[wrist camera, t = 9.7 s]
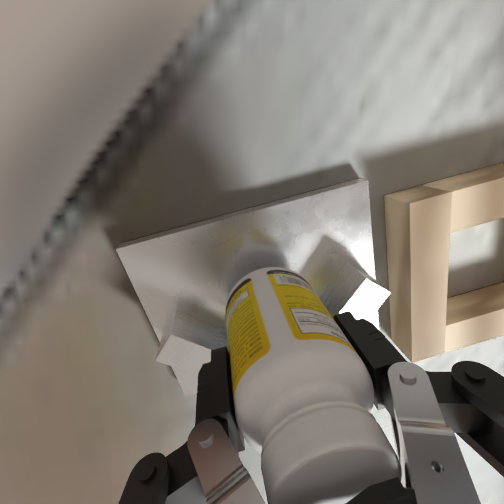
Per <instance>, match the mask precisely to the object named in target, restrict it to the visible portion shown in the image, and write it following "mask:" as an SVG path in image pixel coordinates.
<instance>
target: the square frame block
mask: <svg viewBox="0 0 504 504" xmlns="http://www.w3.org/2000/svg"><path fill="white" fill-rule="evenodd" d="M384 205H385V224H386V244H387V263H388V283H389V291H390V292H391V293H390V295H389V303H390V322H391V340H392V341H393V342H394V343H395V344H396V346H397V347H398V348H399V349H400V350H401V351H402V352H403V353H404V354H405V356H406V357H407V358H408V359H409V360H410V361H411V362H412V363H413V362H416V361H419V360H423V359H426V358H429V357H433V356H436V355H439V354H443V353H446V352H449V351H453V350H456V349H460V348H463V347H466V346H470V345H473V344H476V343H480V342H483V341H486V340H490V339H493V338H496V337H500V336H503V335H504V282H502V283H498V284H495V285H491V286H488V287H485V288H481V289H478V290H474V291H471V292H467V293H464V294H461V295H457V296H454V297H450V298H447V288H448V267H449V245H450V233H451V232H455V231H459V230H462V229H466V228H469V227H473V226H476V225H480V224H483V223H487V222H490V221H494V220H497V219H501V218H504V163H500V164H496V165H493V166H489V167H485V168H482V169H478V170H474V171H471V172H467V173H464V174H460V175H456V176H453V177H449V178H445V179H442V180H438V181H435V182H431V183H427V184H424V185H420V186H416V187H413V188H409V189H406V190H402V191H398V192H395V193H391V194H387V195H384Z"/></svg>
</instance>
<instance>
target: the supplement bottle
mask: <svg viewBox="0 0 504 504" xmlns="http://www.w3.org/2000/svg"><path fill="white" fill-rule="evenodd" d="M225 317H226V327H227V336H228V346H229V357H230V369H231V380H232V391H233V403H234V410H235V417H236V421H237V425H238V427H239V430H240V432H241V433H242V435H243V437H244V438H245V439H246V441H247V442H248V443H249V444H250V445H251V446H252V447H253V448H254V449H255V450H257V451H258V452H259V453H261V470H262V475H263V479H264V485H265V490H266V495H267V501H268V504H345V503H347V502H348V501H350V500H351V499H352V498H354V497H355V496H356V495H358V494H359V493H360V492H362V491H363V490H364V489H366V488H367V487H368V486H370V485H373V484H377V483H380V482H383V481H386V480H389V479H393V478H396V477H398V478H399V480H400V482H401V478H402V468H401V464H400V461H399V459H398V457H397V455H396V453H395V451H394V450H393V448H392V446H391V444H390V443H389V441H388V439H387V437H386V436H385V434H384V432H383V430H382V428H381V427H380V425H379V424H378V423H377V422H376V420H375V418H374V416H373V415H372V414H371V412H372V408H373V403H374V387H373V382H372V379H371V376H370V374H369V372H368V370H367V368H366V366H365V364H364V363H363V361H362V360H361V358H360V357H359V355H358V354H357V352H356V351H355V349H354V348H353V347H352V345H351V344H350V342H349V341H348V340H347V338H346V336H345V335H344V334H343V332H342V331H341V329H340V328H339V326H338V325H337V323H336V322H335V320H334V319H333V317H332V316H331V315H330V313H329V312H328V310H327V309H326V307H325V306H324V305H323V303H322V302H321V300H320V299H319V297H318V296H317V294H316V293H315V291H314V290H313V289H312V287H311V286H310V284H309V283H308V282H307V281H306V280H305V279H304V278H303V277H302V276H301V275H299V274H298V273H296V272H294V271H292V270H289V269H286V268H281V267H267V268H262V269H259V270H256V271H253V272H251V273H249V274H248V275H246V276H244V277H243V278H242V279H241V280H240V281H239V282H238V283H237V284H236V285H235V286H234V287H233V289H232V290H231V292H230V294H229V296H228V299H227V302H226V308H225Z"/></svg>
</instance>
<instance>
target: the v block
mask: <svg viewBox="0 0 504 504" xmlns="http://www.w3.org/2000/svg"><path fill="white" fill-rule="evenodd" d="M116 251H117V253H118V255H119V257H120V259H121V262H122V264H123V266H124V268H125V270H126V272H127V274H128V276H129V278H130V281H131V283H132V285H133V287H134V289H135V291H136V293H137V295H138V297H139V300H140V302H141V304H142V306H143V308H144V310H145V312H146V314H147V316H148V319H149V321H150V323H151V325H152V327H153V329H154V331H155V333H156V335H157V338H158V340H159V342H160V345H159V349H158V353H157V357H156V360H155V361H158V362H161V363H164V364H167V365H169V366H171V367H172V369H173V371H174V373H175V375H176V378H177V380H178V382H179V384H180V386H181V388H182V390H183V392H184V394H185V396H187V395H191V394H194V393H197V385H198V373H199V371H200V369H201V367H202V365H203V364H205V363H208V362H211V350H213V349H217V348H220V347H224V346H226V347H227V349H228V352H229V346H228V336H227V327H226V317H225V308H226V302H227V299H228V296H229V294H230V292H231V290H232V289H233V287H234V286H235V285H236V284H237V283H238V282H239V281H240V280H241V279H242V278H243V277H244V276H246V275H248V274H249V273H251V272H253V271H256V270H259V269H262V268H267V267H281V268H286V269H289V270H292V271H294V272H296V273H298V274H299V275H301V276H302V277H303V278H304V279H305V280H306V281H307V282H308V283H309V284H310V286H311V287H312V289H313V290H314V291H315V293H316V294H317V296H318V297H319V299H320V300H321V302H322V303H323V305H324V306H325V307H326V309H327V310H328V312H329V313H330V315H331V316H332V317H333V319H334V315H336V314H339V313H343V312H346V311H350V312H351V313H352V314H353V316H354V317H355V318H356V319H357V320H358V319H361V318H364V319H366V320H368V321H370V322H372V323H373V324H374V325H375V326H376V327H377V328H378V329H379V323H378V308H379V307H380V306H381V304H382V303H383V302H384V301H385V300H386V298H387V297H388V296H389V295H390V293H391V292H390V291H388V290H387V289H386V288H385V287H384V286H382V285H381V284H380V283H379V282H378V281H377V280H375V268H374V254H373V240H372V226H371V212H370V198H369V185H368V180H365V179H361V178H358V179H355V180H351V181H347V182H344V183H340V184H336V185H333V186H329V187H325V188H322V189H318V190H314V191H311V192H307V193H303V194H300V195H296V196H292V197H289V198H285V199H281V200H278V201H274V202H270V203H267V204H263V205H259V206H256V207H252V208H248V209H245V210H241V211H237V212H233V213H230V214H226V215H222V216H219V217H215V218H211V219H208V220H204V221H200V222H197V223H193V224H189V225H186V226H182V227H178V228H175V229H171V230H167V231H164V232H160V233H156V234H153V235H149V236H145V237H142V238H138V239H134V240H131V241H127V242H123V243H121V244H120V245H119V246H118V247H117V248H116Z"/></svg>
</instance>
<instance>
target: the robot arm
mask: <svg viewBox="0 0 504 504" xmlns="http://www.w3.org/2000/svg"><path fill="white" fill-rule="evenodd" d="M334 320H335V322H336V323H337V325H338V326H339V328H340V329H341V331H342V332H343V334H344V335H345V336H346V338H347V340H348V341H349V342H350V344H351V345H352V347H353V348H354V349H355V351H356V352H357V354H358V355H359V357H360V358H361V360H362V361H363V363H364V364H365V366H366V368H367V370H368V372H369V374H370V376H371V379H372V382H373V387H374V404H375V406H376V408H377V409H378V410H380V409H384V408H386V409H387V410H388V412H389V413H390V417H391V425H392V430H393V436H394V441H395V446H396V452H397V457H398V459H399V461H400V464H401V468H402V478H401V482H402V483H401V482H400V480H399V478H398V477H396V478H393V479H389V480H386V481H383V482H380V483H377V484H373V485H370V486H368V487H367V488H366V489H364V490H363V491H362V492H360V493H359V494H358V495H356V496H355V497H354V498H352V499H351V500H350V501H348V502H347V503H345V504H481V503H480V500H479V498H478V495H477V492H476V490H475V487H474V484H473V482H472V479H471V477H470V474H469V471H468V469H467V466H466V463H465V461H464V458H463V455H462V453H461V450H460V447H459V445H458V442H457V439H456V437H455V434H454V433H456V434H457V435H459V436H460V437H461V438H462V439H463V440H464V441H465V442H466V443H467V444H468V445H469V446H471V447H472V448H473V449H474V450H475V451H476V452H477V453H478V454H479V455H480V456H481V457H483V458H484V459H485V460H486V461H487V462H488V463H489V464H490V465H491V466H492V467H493V468H495V469H496V470H497V471H498V472H499V473H500V474H501V475H502V476H503V477H504V377H503V376H501V375H500V374H498V373H497V372H495V371H493V370H492V369H490V368H489V367H487V366H485V365H483V364H480V363H477V362H473V361H461V362H458V363H456V364H454V365H453V367H452V371H451V372H428V371H424V370H423V369H422V368H421V367H419V366H418V365H416V364H413V363H409V362H407V361H406V360H405V359H404V358H403V356H402V355H401V354H400V353H399V352H398V351H397V350H396V349H395V347H394V346H393V345H392V344H391V343H390V342H389V341H388V340H387V338H385V336H384V335H383V334H382V333H381V332H380V331H379V329H378V328H377V327H376V326H375V325H374V324H373V323H372V322H370V321H368V320H366V319H364V318H361V319H358V320H357V319H356V318H355V317H354V316H353V314H352V313H351V312H350V311H346V312H343V313H339V314H336V315H334ZM243 450H245V446H244V437H243V435H242V433H241V432H240V430H239V427H238V425H237V421H236V417H235V410H234V403H233V391H232V380H231V369H230V357H229V352H228V349H227V347H226V346H224V347H220V348H217V349H213V350H211V362H208V363H205V364H203V365H202V367H201V369H200V371H199V373H198V385H197V403H196V422H195V427H194V428H193V429H192V431H191V432H190V434H189V437H188V441H187V442H186V443H185V444H184V445H183V446H181V447H180V448H178V449H177V450H175V451H174V452H172V453H171V454H169V455H168V456H166V457H165V456H164V455H163V454H161V453H151V454H149V455H147V456H145V457H144V458H142V459H141V460H140V461H139V462H138V463H137V464H136V465H135V467H134V468H133V470H132V471H131V474H130V476H129V478H128V481H127V483H126V486H125V489H124V491H123V494H122V496H121V499H120V501H119V504H265V502H264V500H263V498H262V496H261V495H260V493H259V491H258V489H257V487H256V485H255V483H254V482H253V480H252V478H251V476H250V474H249V473H248V471H247V469H246V468H245V467H244V466H243V464H242V462H241V460H240V458H239V454H238V452H240V451H243Z"/></svg>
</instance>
